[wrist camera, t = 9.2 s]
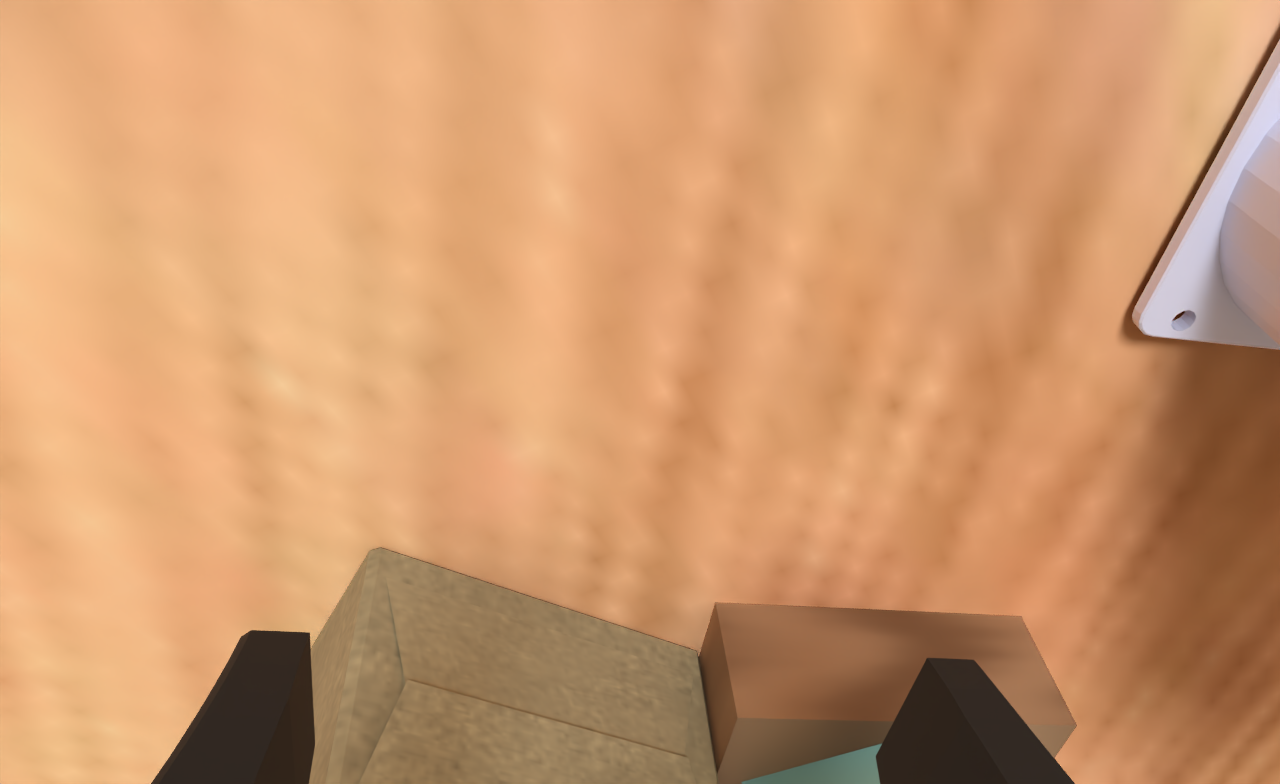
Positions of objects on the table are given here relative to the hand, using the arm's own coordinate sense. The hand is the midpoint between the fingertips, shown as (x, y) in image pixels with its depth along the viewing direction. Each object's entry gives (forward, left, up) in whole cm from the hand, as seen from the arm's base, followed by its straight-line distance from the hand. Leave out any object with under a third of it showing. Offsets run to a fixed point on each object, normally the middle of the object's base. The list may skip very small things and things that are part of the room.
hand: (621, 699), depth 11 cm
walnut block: (-9, +14, -11) cm, 20 cm away
